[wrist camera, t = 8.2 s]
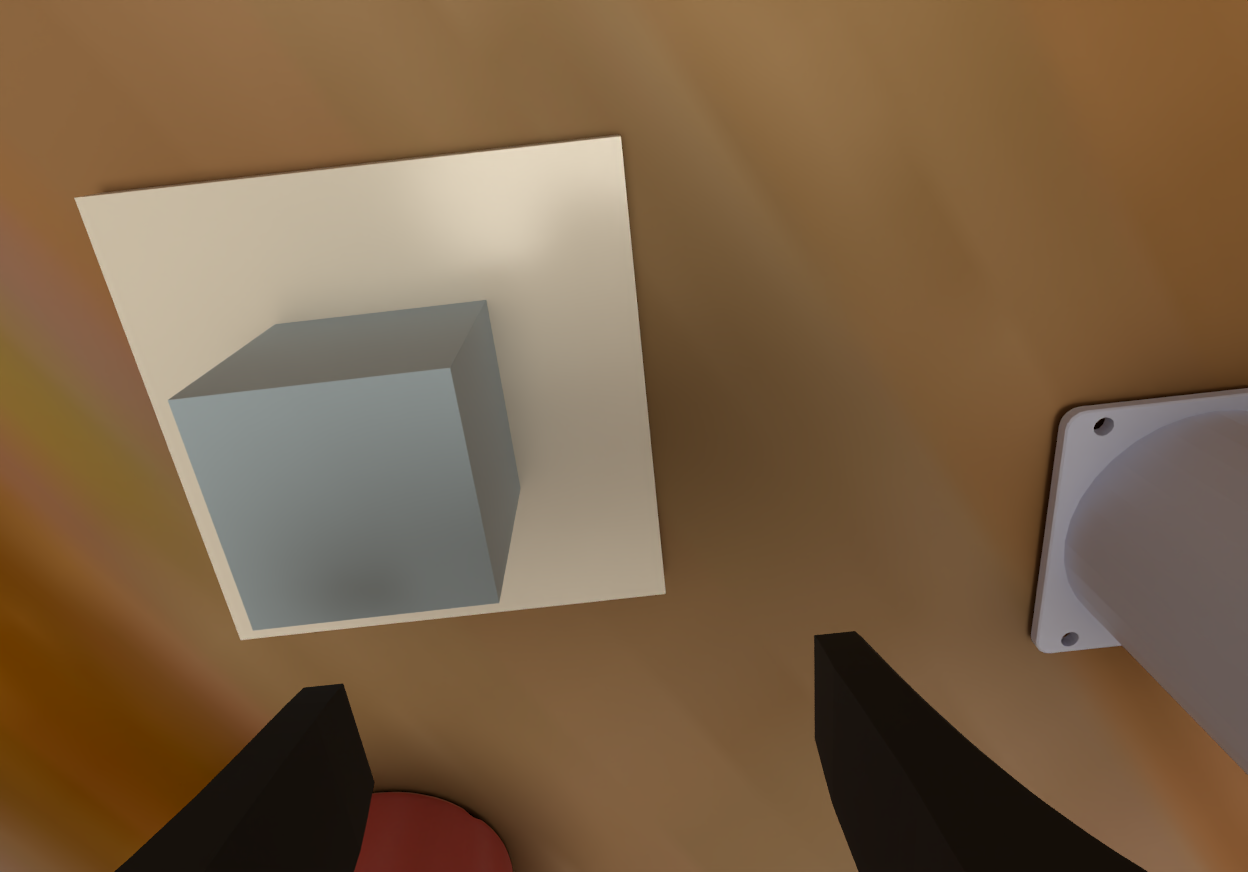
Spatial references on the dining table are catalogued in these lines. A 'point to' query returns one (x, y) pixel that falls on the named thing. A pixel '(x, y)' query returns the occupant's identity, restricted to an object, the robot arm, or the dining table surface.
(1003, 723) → the dining table surface
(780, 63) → the dining table surface
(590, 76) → the dining table surface
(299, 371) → the grey cube
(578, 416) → the cream tile
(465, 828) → the flower pot
